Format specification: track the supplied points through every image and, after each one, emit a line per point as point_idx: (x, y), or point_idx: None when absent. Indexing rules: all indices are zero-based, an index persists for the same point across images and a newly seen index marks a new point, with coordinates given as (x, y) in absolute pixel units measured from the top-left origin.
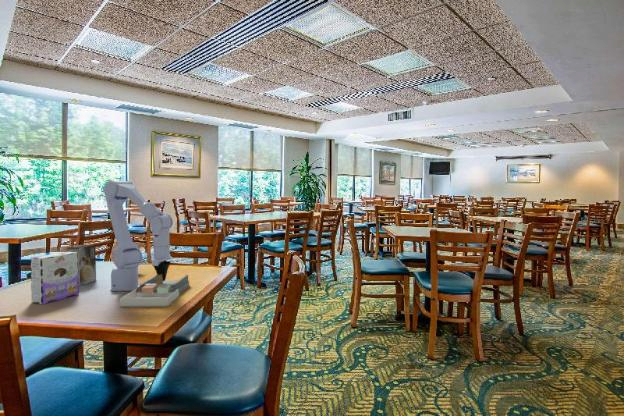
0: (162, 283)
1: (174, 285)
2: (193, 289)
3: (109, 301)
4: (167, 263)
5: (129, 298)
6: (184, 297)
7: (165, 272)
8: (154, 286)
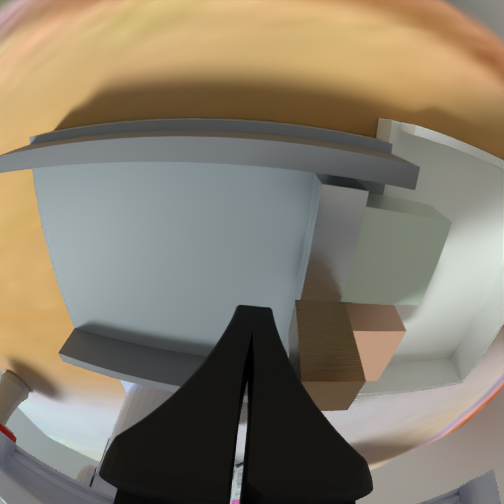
0: (307, 302)
1: (416, 171)
2: (154, 49)
3: (359, 406)
4: (273, 498)
5: (480, 356)
6: (403, 77)
7: (281, 373)
8: (369, 332)
